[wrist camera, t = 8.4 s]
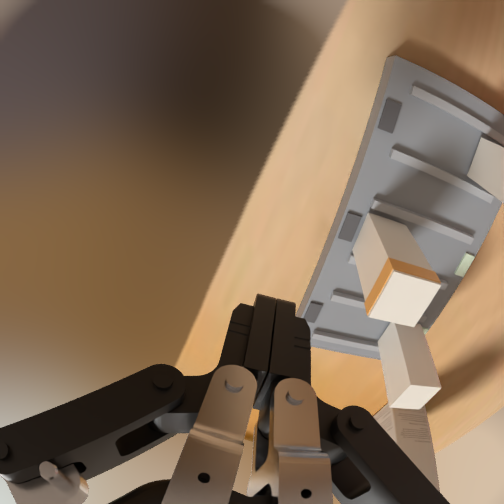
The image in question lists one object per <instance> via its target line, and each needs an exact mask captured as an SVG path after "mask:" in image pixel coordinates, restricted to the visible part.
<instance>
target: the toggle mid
mask: <svg viewBox="0 0 504 504" xmlns="http://www.w3.org/2000/svg"><path fill="white" fill-rule="evenodd" d="M352 251H353V254H354V258H355V262H356V266H357V270H358V274H359V278H360V282H361V286H362V290H363V295H364V299H365V303H364V305H365V309H366V314H367V315H368V317H370V318H374V319H379V320H383V321H388V322H392V323H397V324H401V325H406V326H411V327H415V325H416V324H417V322H418V321H419V319H420V318H421V316H422V315H423V313H424V312H425V310H426V309H427V307H428V306H429V304H430V303H431V301H432V299H433V298H434V296H435V295H436V293H437V291H438V290H439V288H440V287H441V281H440V280H439V278H438V276H437V274H436V272H434V271H433V270H432V268H431V266H430V264H429V263H428V261H427V259H426V257H425V256H424V254H423V252H422V251H421V249H420V247H419V246H418V244H417V242H416V241H415V239H414V237H413V236H412V234H411V233H410V231H409V229H408V228H407V226H406V225H404V224H401V223H398V222H396V221H393V220H390V219H387V218H384V217H381V216H378V215H375V214H372V213H369V212H368V214H367V216H366V218H365V221H364V223H363V226H362V228H361V230H360V233H359V235H358V238H357V240H356V242H355V245H354V247H353V249H352Z"/></svg>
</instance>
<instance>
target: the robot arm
mask: <svg viewBox="0 0 504 504" xmlns="http://www.w3.org/2000/svg"><path fill="white" fill-rule="evenodd" d="M295 308H296V304H295V303H294V302H289V301H285V300H281V299H276V298H273V297H269V296H265V295H261V294H257V296H256V299H255V302H254V305H253V306H250V305H246V304H242V303H240V304H239V305H238V306H237V307H236V308H235V309H234V310H233V312H232V316H231V320H230V324H229V327H228V331H227V335H226V338H225V342H224V346H223V349H222V353H221V357H220V361H219V363H218V365H217V367H216V368H215V369H214V370H213V371H212V372H210V373H208V374H205V375H201V376H183V374H182V373H181V372H180V371H179V370H178V369H176V368H175V367H173V366H170V365H166V364H156V365H152V366H150V367H148V368H146V369H143V370H141V371H139V372H137V373H135V374H132V375H130V376H128V377H126V378H123V379H121V380H119V381H117V382H114V383H112V384H110V385H108V386H106V387H103V388H101V389H99V390H96V391H94V392H91V393H89V394H87V395H84V396H82V397H80V398H77V399H75V400H72V401H70V402H68V403H65V404H62V405H60V406H57V407H55V408H52V409H50V410H47V411H45V412H42V413H40V414H37V415H35V416H32V417H29V418H27V419H24V420H21V421H19V422H16V423H13V424H10V425H8V426H5V427H2V428H0V476H1V477H2V478H3V479H4V480H5V481H6V482H7V484H8V486H9V488H10V490H11V493H12V495H13V497H14V499H15V501H16V503H17V504H82V503H83V502H84V501H85V500H86V499H87V497H88V492H89V488H88V484H87V481H86V480H88V479H90V478H92V477H95V476H97V475H99V474H101V473H103V472H105V471H108V470H110V469H112V468H114V467H116V466H118V465H120V464H122V463H124V462H126V461H128V460H130V459H132V458H134V457H136V456H138V455H140V454H142V453H144V452H145V451H147V450H149V449H151V448H153V447H155V446H157V445H158V444H160V443H162V442H164V441H166V440H167V439H169V438H171V437H173V436H174V435H176V434H177V433H189V435H188V437H187V440H186V443H185V445H184V447H183V450H182V452H181V455H180V458H179V460H178V463H177V465H176V468H175V470H174V473H173V475H172V478H171V479H167V480H159V481H154V482H150V483H147V484H144V485H142V486H140V487H138V488H136V489H134V490H132V491H131V492H129V493H127V494H125V495H124V496H122V497H120V498H118V499H116V500H114V501H112V502H110V503H109V504H333V495H332V493H333V494H334V496H335V497H336V498H337V499H338V501H339V502H340V503H341V504H450V503H449V502H448V501H447V500H446V499H445V498H444V497H443V495H442V494H441V493H440V492H439V491H438V490H437V489H436V488H435V487H434V485H433V484H432V483H431V482H430V481H429V480H428V479H427V478H426V476H425V475H424V474H423V473H422V472H421V471H420V470H419V469H418V467H417V466H416V465H415V464H414V463H413V462H412V461H411V460H410V458H409V457H408V456H407V455H406V454H405V453H404V452H403V450H402V449H401V448H400V447H399V446H398V445H397V444H396V443H395V441H394V440H393V439H392V438H391V437H390V436H389V435H388V433H387V432H386V431H385V430H384V429H383V428H382V427H381V425H380V424H379V423H378V422H377V421H376V420H375V418H374V417H373V416H372V415H371V414H370V413H369V412H368V411H367V410H366V409H364V408H362V407H359V406H348V407H345V408H343V409H342V410H340V409H337V408H335V407H333V406H331V405H329V404H327V403H325V402H323V401H322V400H320V399H319V398H318V397H317V396H316V393H315V391H314V389H313V388H312V387H311V351H310V349H311V342H310V340H311V330H310V327H309V325H308V323H307V321H306V319H304V318H299V317H295ZM252 405H253V409H258V410H260V411H259V418H258V421H257V423H256V424H255V428H254V441H253V457H252V471H251V476H250V480H249V483H248V488H247V496H245V495H243V494H240V493H238V492H236V491H233V490H232V489H233V485H234V482H235V478H236V474H237V471H238V467H239V463H240V460H241V456H242V452H243V447H244V443H243V440H244V436H245V432H246V429H247V425H248V421H249V417H250V413H251V409H252Z"/></svg>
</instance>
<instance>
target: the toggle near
mask: <svg viewBox="0 0 504 504" xmlns="http://www.w3.org/2000/svg"><path fill="white" fill-rule="evenodd" d="M467 176H468V177H469V178H471V179H472V180H473V181H475V182H476V183H477V184H479V185H480V186H482V187H483V188H484V189H486V190H487V191H488V192H489V193H491V194H492V195H493V196H495V197H496V198H497V199H498V200H500V201H501V202H502V203H503V204H504V147H502V146H499V145H497V144H495V143H493V142H491V141H488V140H486V139H484V138H482V137H481V139H480V142H479V144H478V147H477V150H476V153H475V156H474V158H473V161H472V164H471V166H470V169H469V171H468V174H467Z"/></svg>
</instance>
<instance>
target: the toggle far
mask: <svg viewBox="0 0 504 504" xmlns="http://www.w3.org/2000/svg"><path fill="white" fill-rule="evenodd" d="M378 347H379V352H380V357H381V363H382V368H383V373H384V379H385V385H386V391H387V397H388V404H389V407H391V408H404V409H420V408H422V407H423V406H424V405H425V404H426V403H427V402H428V401H429V400H430V399H431V398H432V397H433V396H434V395H435V394H436V393H437V392H438V391H439V390H440V389H441V384H440V381H439V377H438V374H437V371H436V368H435V364H434V361H433V358H432V355H431V352H430V349H429V346H428V343H427V340H426V337H425V334H424V332H423V329H422V326H421V324H416V325H415V327H411V326H406V325H401V324H397V323H392V322H390V324H389V325H388V327H387V329H386V330H385V332H384V333H383V335H382V336H381V337H380V339H379V340H378Z"/></svg>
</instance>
